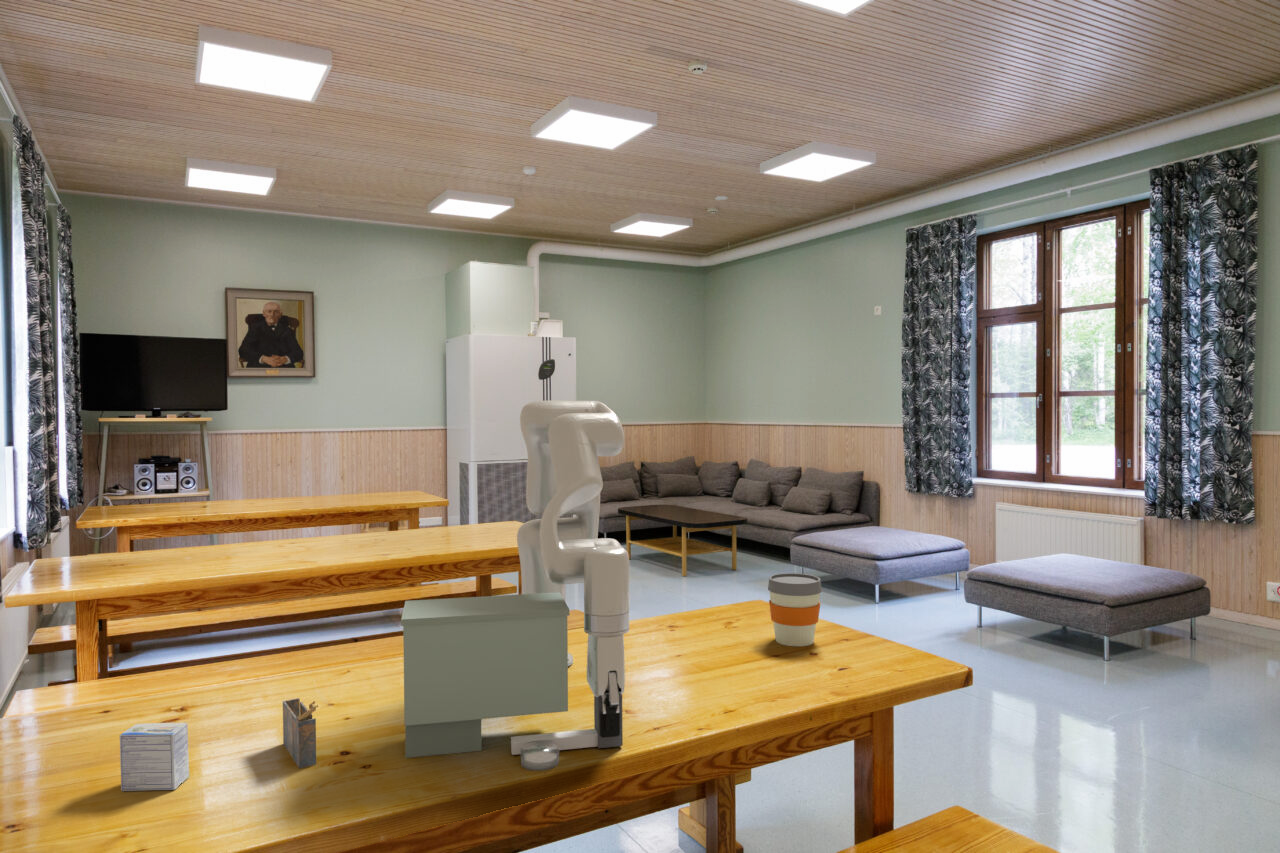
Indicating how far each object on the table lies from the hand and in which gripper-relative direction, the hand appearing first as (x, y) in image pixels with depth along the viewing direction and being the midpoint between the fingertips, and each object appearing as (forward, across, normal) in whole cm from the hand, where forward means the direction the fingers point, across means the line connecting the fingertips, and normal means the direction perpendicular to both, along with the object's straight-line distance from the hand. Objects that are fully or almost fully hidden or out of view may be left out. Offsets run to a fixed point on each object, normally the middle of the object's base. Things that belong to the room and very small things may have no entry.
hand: (607, 729), depth 137 cm
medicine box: (+3, -1, -68) cm, 69 cm away
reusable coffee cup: (+3, -48, +54) cm, 73 cm away
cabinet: (+2, -6, -20) cm, 21 cm away
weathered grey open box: (+3, -8, -49) cm, 50 cm away
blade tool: (+2, 0, -7) cm, 7 cm away
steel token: (+3, +4, -12) cm, 13 cm away
